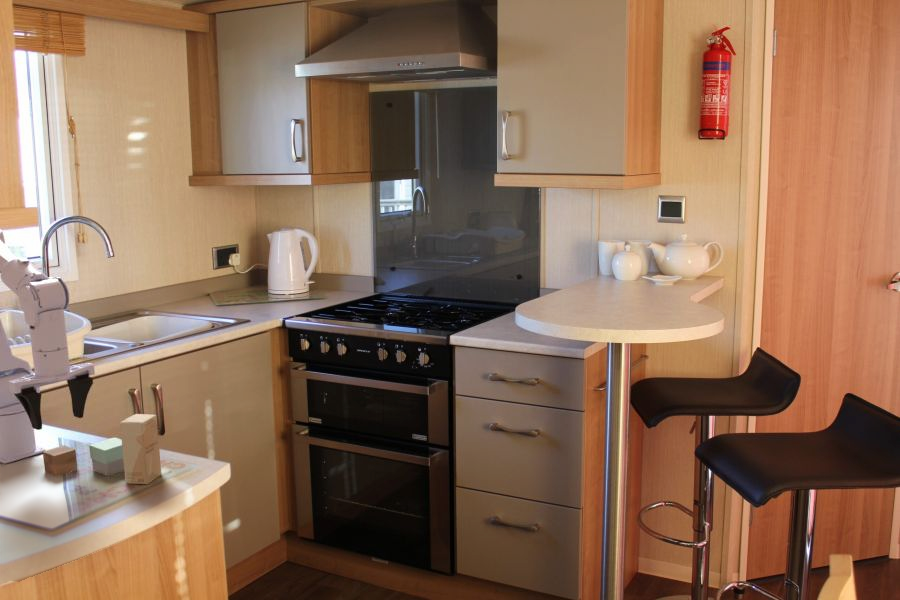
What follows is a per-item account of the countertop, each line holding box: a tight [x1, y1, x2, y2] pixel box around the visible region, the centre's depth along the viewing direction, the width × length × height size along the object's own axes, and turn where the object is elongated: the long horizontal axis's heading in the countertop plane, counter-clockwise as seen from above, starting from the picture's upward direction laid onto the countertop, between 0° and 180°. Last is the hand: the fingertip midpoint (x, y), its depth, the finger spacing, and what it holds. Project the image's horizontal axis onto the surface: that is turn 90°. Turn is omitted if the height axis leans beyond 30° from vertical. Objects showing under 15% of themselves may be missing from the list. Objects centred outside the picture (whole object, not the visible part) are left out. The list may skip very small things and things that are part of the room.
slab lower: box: [91, 459, 125, 477], centre depth 161 cm, size 5×5×2 cm
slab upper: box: [88, 437, 123, 464], centre depth 161 cm, size 5×5×2 cm
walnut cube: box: [42, 444, 79, 478], centre depth 161 cm, size 4×4×4 cm
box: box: [119, 413, 162, 485], centre depth 155 cm, size 5×4×11 cm
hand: (58, 422), depth 158 cm, fingers open, 7 cm apart
